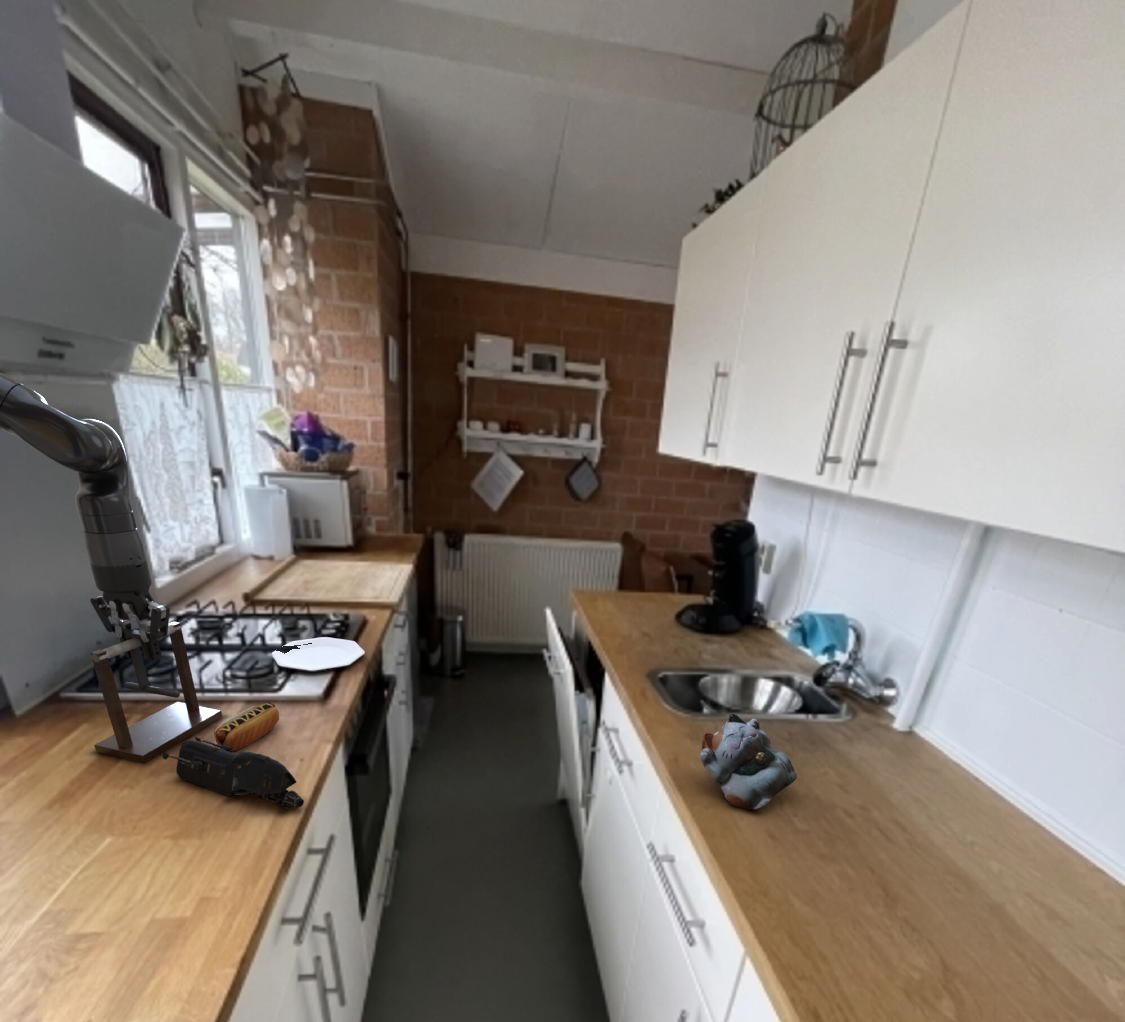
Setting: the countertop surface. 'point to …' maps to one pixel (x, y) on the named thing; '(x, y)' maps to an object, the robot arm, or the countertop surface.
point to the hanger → (143, 670)
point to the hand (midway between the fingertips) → (143, 658)
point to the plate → (319, 654)
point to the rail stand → (160, 727)
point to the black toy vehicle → (235, 772)
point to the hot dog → (247, 726)
